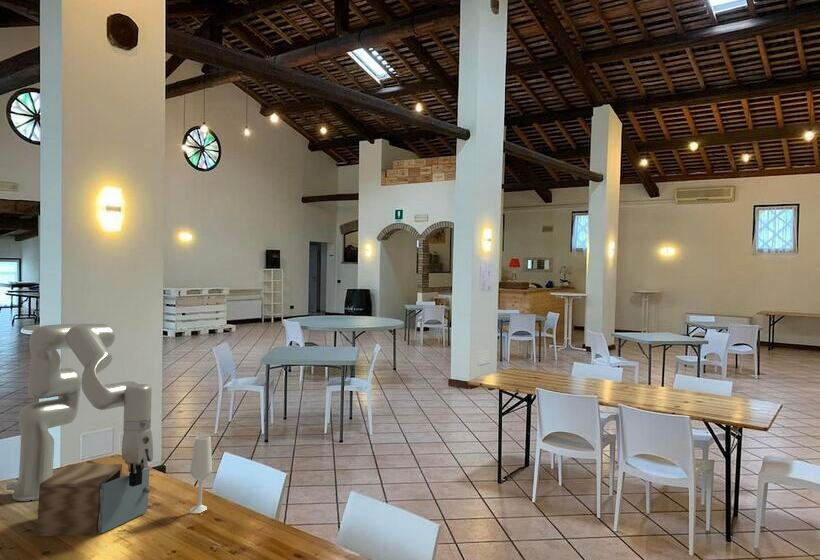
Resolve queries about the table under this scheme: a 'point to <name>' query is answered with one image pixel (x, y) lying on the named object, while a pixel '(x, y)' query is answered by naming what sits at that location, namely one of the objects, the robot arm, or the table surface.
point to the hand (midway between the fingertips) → (135, 484)
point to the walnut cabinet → (73, 499)
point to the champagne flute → (201, 466)
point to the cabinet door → (122, 501)
